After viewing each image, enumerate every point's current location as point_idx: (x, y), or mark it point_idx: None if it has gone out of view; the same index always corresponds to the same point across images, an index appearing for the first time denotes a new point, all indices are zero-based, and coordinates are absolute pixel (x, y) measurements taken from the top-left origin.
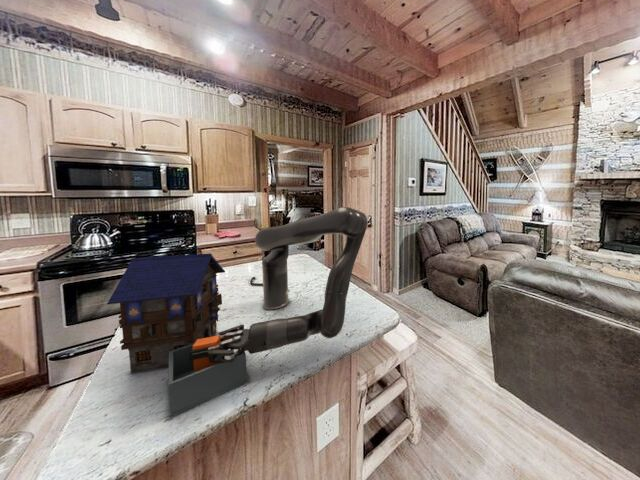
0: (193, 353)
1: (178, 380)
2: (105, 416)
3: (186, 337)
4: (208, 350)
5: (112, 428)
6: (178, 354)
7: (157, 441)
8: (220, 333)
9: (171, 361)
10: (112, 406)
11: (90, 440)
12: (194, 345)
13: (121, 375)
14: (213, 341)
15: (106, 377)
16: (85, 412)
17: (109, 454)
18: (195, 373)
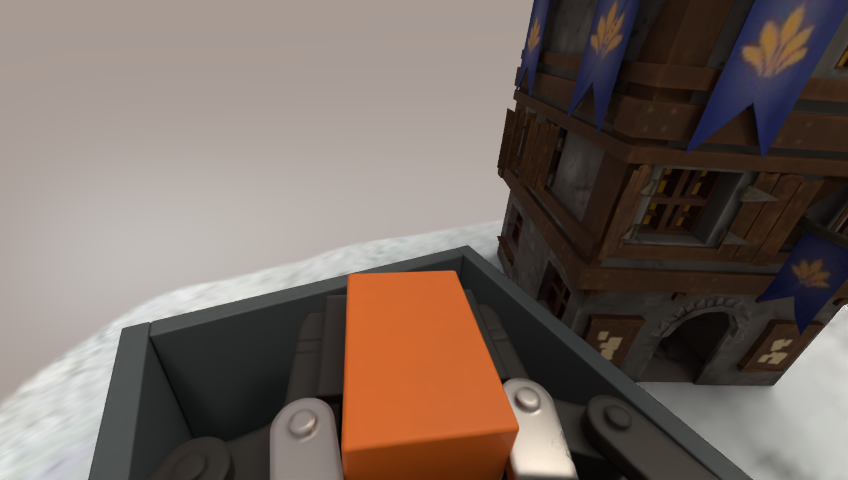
0: (315, 319)
1: (120, 362)
2: (336, 275)
3: (568, 254)
4: (282, 419)
5: None
6: (471, 285)
7: (43, 470)
8: (597, 414)
9: (379, 272)
10: None
11: (254, 285)
12: (363, 279)
13: (489, 243)
14: (371, 403)
15: (485, 228)
16: (372, 243)
17: None
18: (102, 446)
